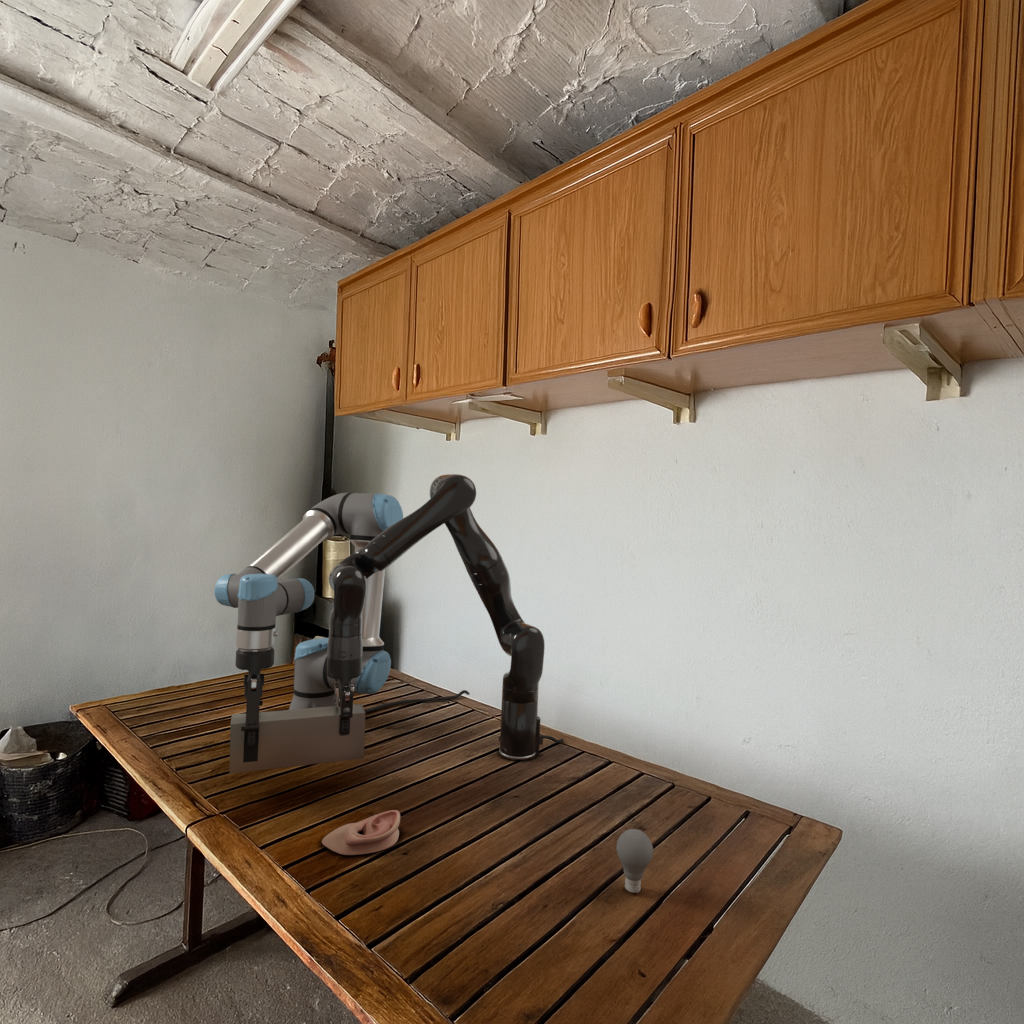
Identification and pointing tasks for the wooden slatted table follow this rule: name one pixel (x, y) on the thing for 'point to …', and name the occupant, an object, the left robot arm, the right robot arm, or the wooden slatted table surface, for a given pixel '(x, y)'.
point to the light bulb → (634, 857)
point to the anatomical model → (365, 835)
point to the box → (298, 738)
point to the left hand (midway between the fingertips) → (251, 748)
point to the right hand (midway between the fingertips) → (342, 729)
